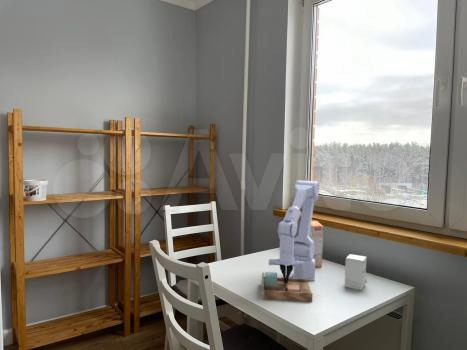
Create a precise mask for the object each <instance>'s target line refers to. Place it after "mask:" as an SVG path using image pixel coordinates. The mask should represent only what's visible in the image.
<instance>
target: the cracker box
mask: <svg viewBox="0 0 467 350" xmlns="http://www.w3.org/2000/svg"><path fill="white" fill-rule="evenodd" d="M309 237H310V238H311V239H312V240H313V242H314V244H315V246H314V248H315V253H314V256H313V258H312V259H315V268H322V265H323V248H324V247H323V246H324V244H323V243H324V225H322V224H321V223H320V222H319V221H318V220H312V221H311V228H310V235H309ZM305 244H308V243H305ZM308 245H309V244H308Z"/></svg>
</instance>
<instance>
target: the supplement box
mask: <svg viewBox="0 0 467 350" xmlns="http://www.w3.org/2000/svg"><path fill="white" fill-rule="evenodd" d="M344 269H345V270H344V285H343V287H345V288H348V289H349V288H350V289H353V290H358V291H362V290H363V288H364V287H365V286H366V279H365V278H366V277H367V275H366V273H367V256H365V255H358V254H351V253H350V254H348V255H347V256H346V258H345V268H344Z"/></svg>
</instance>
